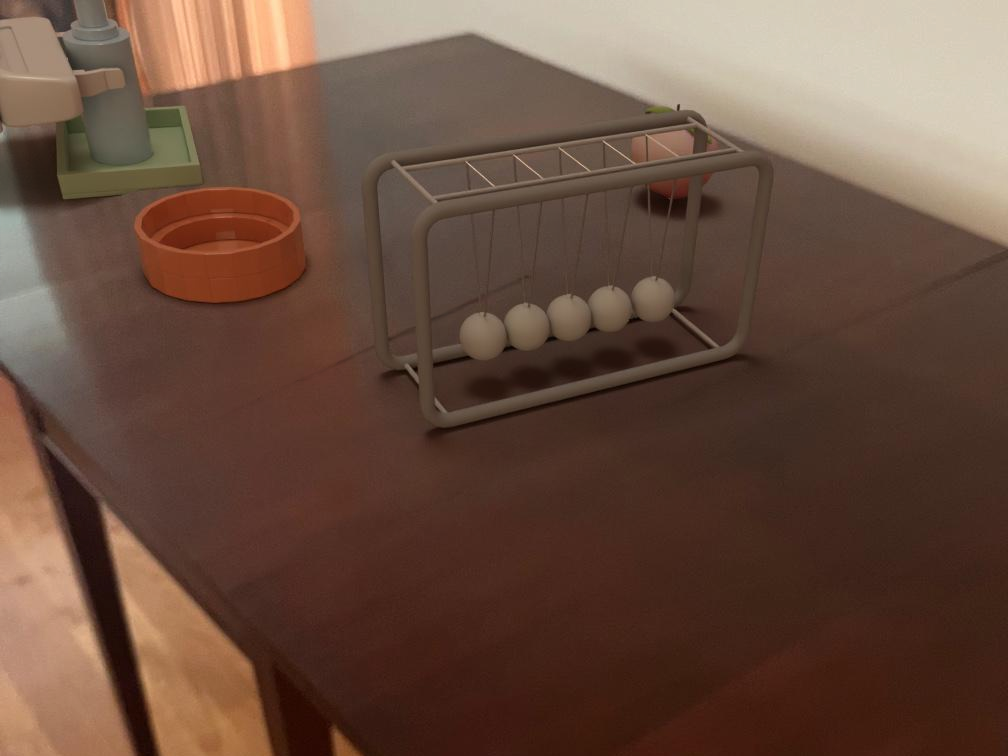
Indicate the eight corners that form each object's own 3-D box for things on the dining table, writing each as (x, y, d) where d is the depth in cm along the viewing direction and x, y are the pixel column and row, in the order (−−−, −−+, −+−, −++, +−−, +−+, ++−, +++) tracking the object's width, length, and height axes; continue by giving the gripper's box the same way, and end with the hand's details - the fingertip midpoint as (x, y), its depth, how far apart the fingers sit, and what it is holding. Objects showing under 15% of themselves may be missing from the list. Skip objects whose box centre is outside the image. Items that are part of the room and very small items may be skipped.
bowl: (208, 324, 100) (198, 269, 96) (114, 269, 106) (102, 216, 103) (338, 272, 108) (332, 220, 105) (243, 224, 115) (235, 174, 111)
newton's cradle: (684, 303, 107) (706, 104, 95) (748, 356, 100) (780, 149, 89) (375, 371, 95) (356, 154, 84) (424, 436, 89) (412, 210, 77)
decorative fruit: (609, 200, 124) (615, 103, 117) (654, 178, 129) (662, 84, 122) (682, 226, 120) (692, 127, 113) (725, 202, 125) (737, 106, 118)
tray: (204, 188, 121) (199, 164, 119) (63, 199, 117) (57, 175, 115) (189, 127, 133) (185, 105, 131) (61, 136, 129) (55, 113, 127)
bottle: (112, 170, 122) (73, -2, 111) (78, 153, 125) (37, -17, 114) (165, 154, 125) (133, -13, 114) (131, 138, 128) (96, -27, 117)
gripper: (-35, 69, 122) (104, 59, 127) (-14, 142, 109) (139, 127, 114) (-53, 4, 118) (91, -4, 123) (-34, 72, 105) (126, 60, 110)
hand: (114, 60), depth 119 cm, fingers open, 8 cm apart
